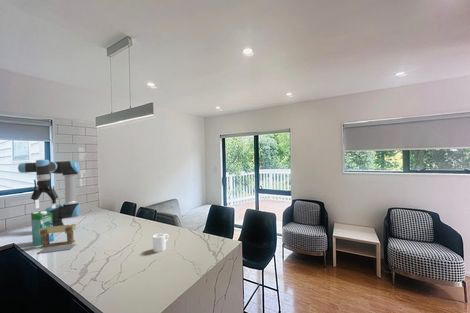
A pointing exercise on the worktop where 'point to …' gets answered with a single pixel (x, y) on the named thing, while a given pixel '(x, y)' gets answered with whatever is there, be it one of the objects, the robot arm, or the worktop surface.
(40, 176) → the robot arm
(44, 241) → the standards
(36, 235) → the milk carton
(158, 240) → the mug
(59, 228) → the rail
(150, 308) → the worktop surface
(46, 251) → the mat
